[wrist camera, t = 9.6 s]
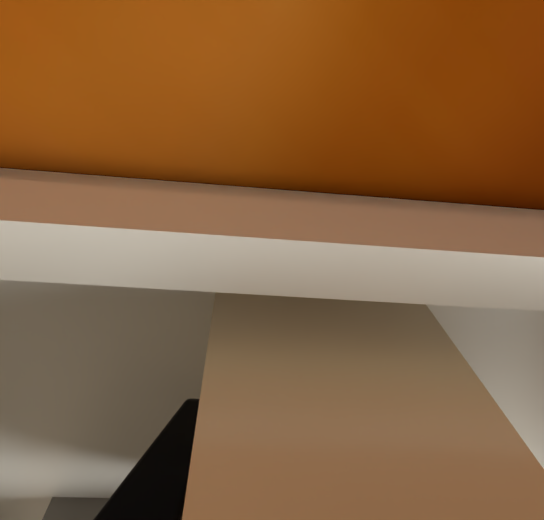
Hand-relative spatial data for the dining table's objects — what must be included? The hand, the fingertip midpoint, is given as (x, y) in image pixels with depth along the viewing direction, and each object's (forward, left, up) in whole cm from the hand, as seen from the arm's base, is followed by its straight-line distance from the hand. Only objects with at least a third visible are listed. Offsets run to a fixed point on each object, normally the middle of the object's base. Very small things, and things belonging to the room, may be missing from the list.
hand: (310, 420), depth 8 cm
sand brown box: (0, 0, -1) cm, 1 cm away
